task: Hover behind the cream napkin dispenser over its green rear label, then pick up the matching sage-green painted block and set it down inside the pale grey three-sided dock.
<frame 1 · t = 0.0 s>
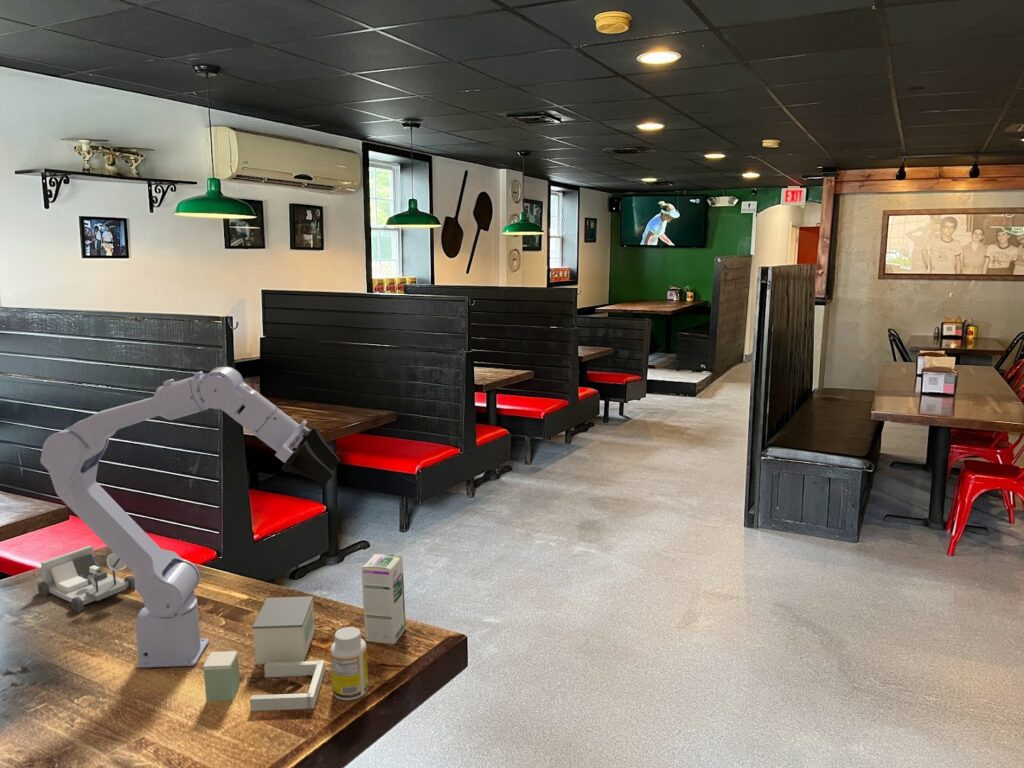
hand: (333, 472, 127), 32 cm above the table, tool tilted 50°, fingers open, 7 cm apart
toy car: (91, 595, 154), on the table
dispenser: (286, 647, 133), on the table
syrup box: (385, 636, 138), on the table
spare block: (223, 693, 120), on the table
dock: (287, 690, 121), on the table
supplement bottle: (350, 692, 121), on the table
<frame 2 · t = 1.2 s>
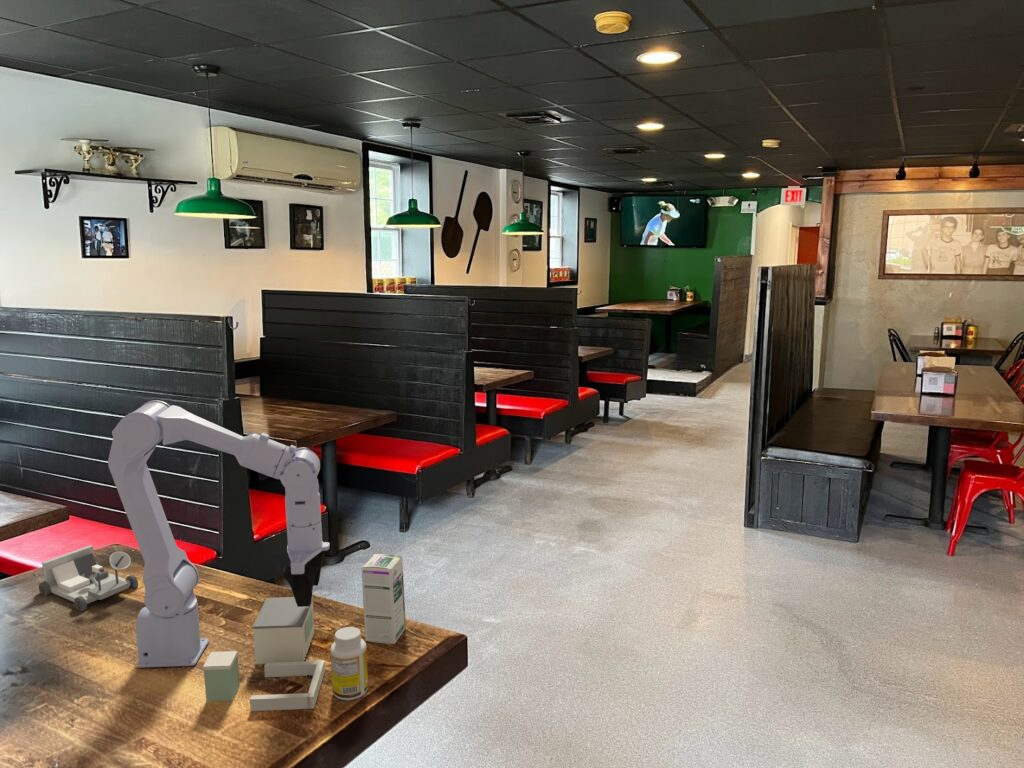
hand: (308, 594, 132), 10 cm above the table, tool pointing down, fingers open, 7 cm apart
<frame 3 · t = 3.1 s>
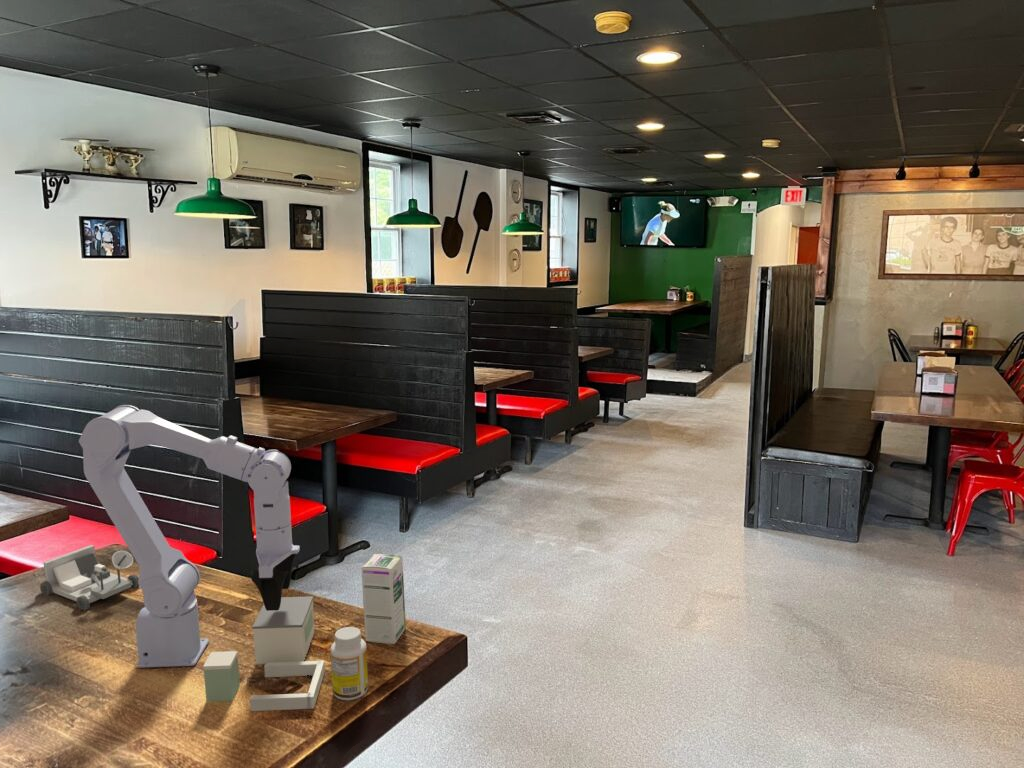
hand: (277, 598, 130), 10 cm above the table, tool pointing down, fingers open, 7 cm apart
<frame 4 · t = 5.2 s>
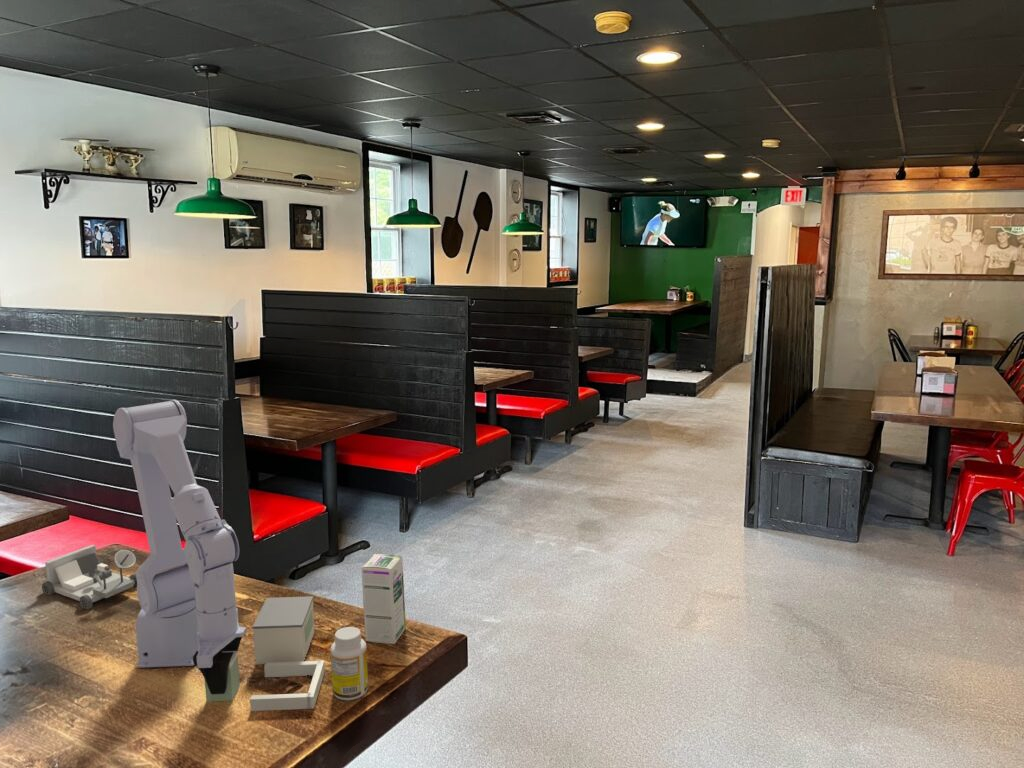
hand: (222, 684, 120), 2 cm above the table, tool pointing down, fingers closed on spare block, 4 cm apart
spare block: (223, 693, 120), on the table, touching gripper
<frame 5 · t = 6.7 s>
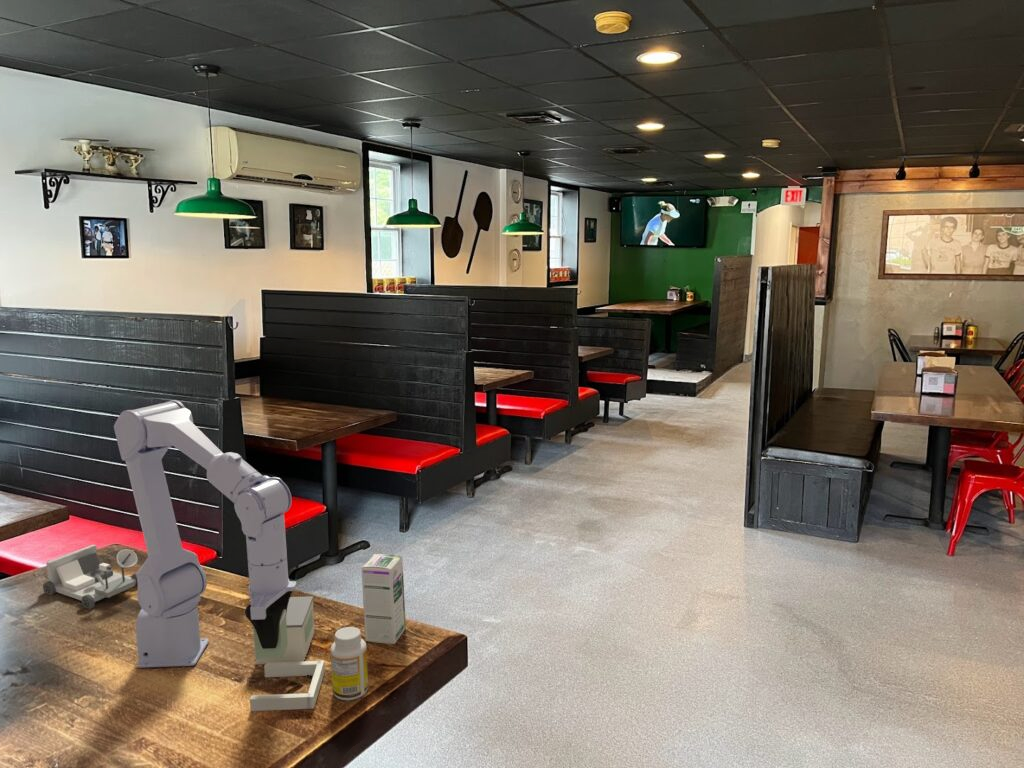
hand: (273, 639, 119), 9 cm above the table, tool pointing down, fingers closed on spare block, 4 cm apart
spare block: (272, 651, 119), point 7 cm above the table, touching gripper
when the fingers open (3 cm above the table, at t = 8.3 s): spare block drops 1 cm, on the table.
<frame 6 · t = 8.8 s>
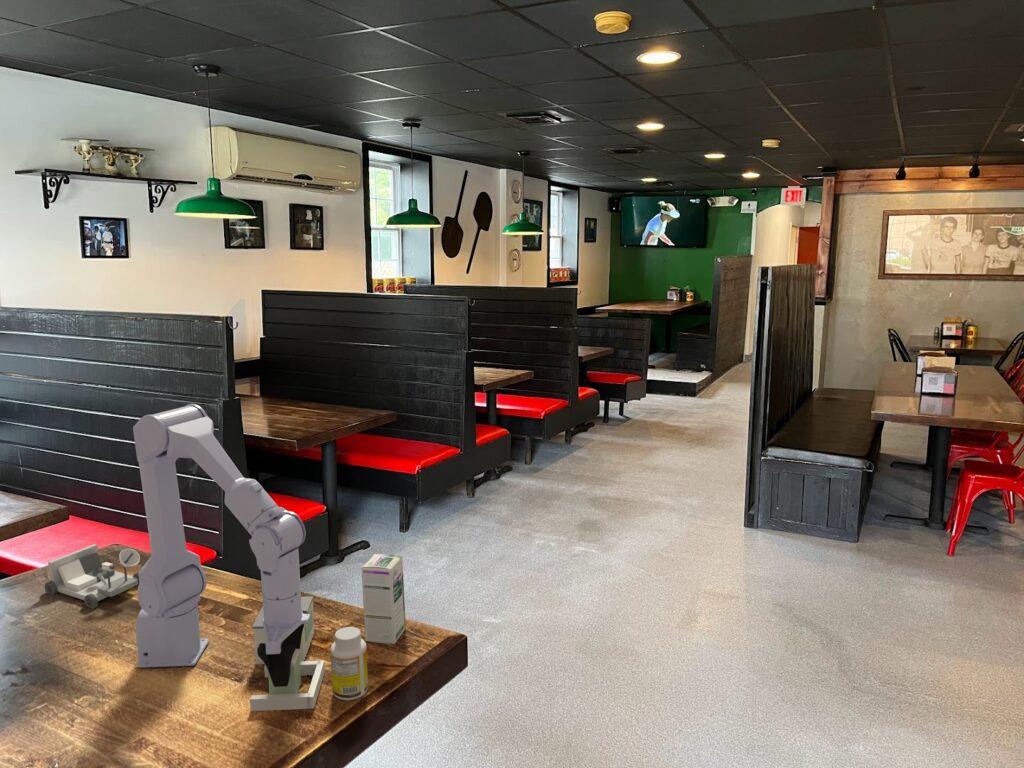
hand: (286, 671, 120), 3 cm above the table, tool pointing down, fingers open, 7 cm apart
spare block: (285, 691, 121), on the table
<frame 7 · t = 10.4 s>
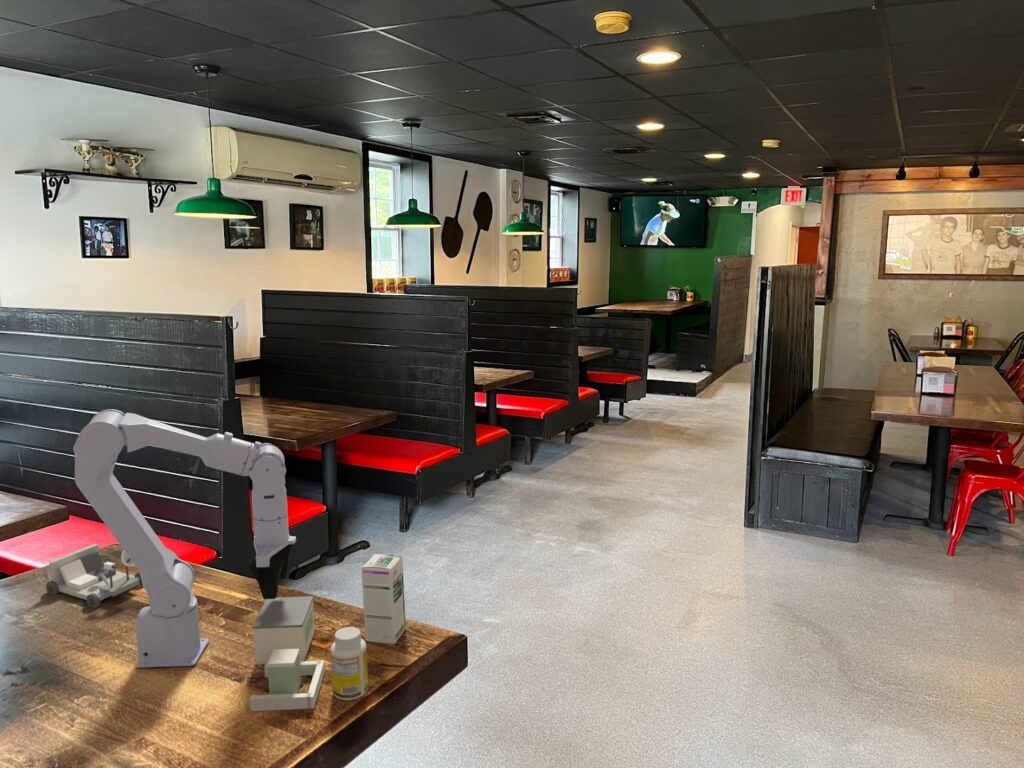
hand: (275, 587, 134), 10 cm above the table, tool pointing down, fingers open, 7 cm apart
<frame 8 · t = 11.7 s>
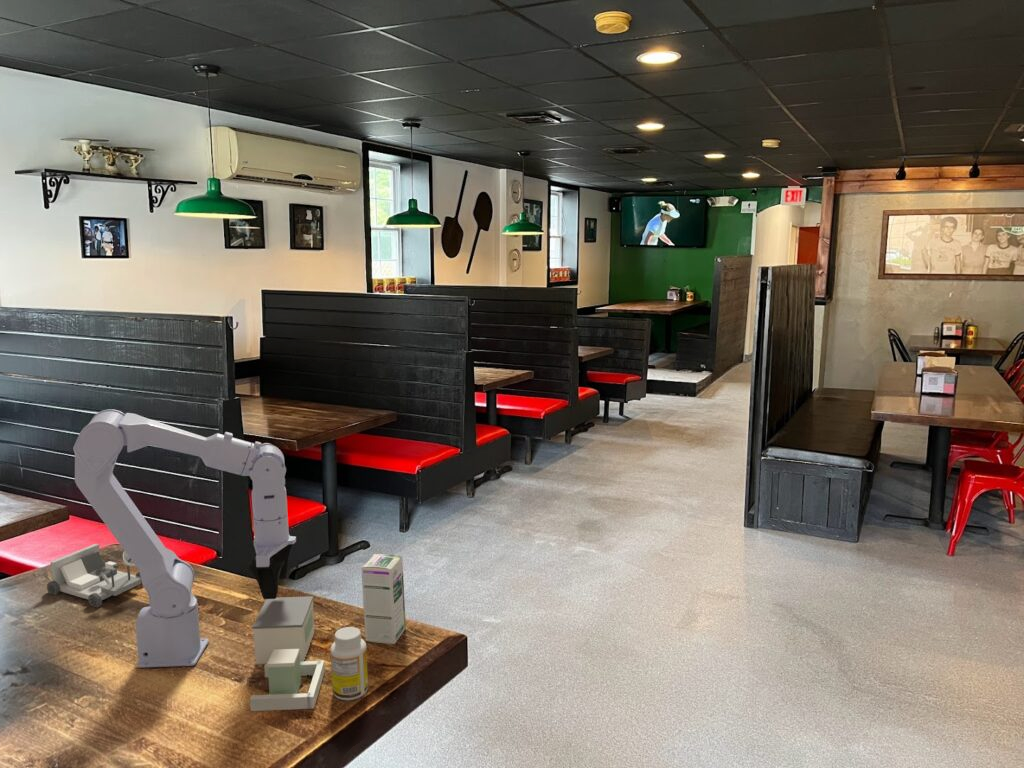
hand: (275, 587, 134), 10 cm above the table, tool pointing down, fingers open, 7 cm apart
at the end: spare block inside the target area on the dock (0.2 cm from its centre), point 0.0 cm above the dock's base; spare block tilted 0°; the gripper is holding nothing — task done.
